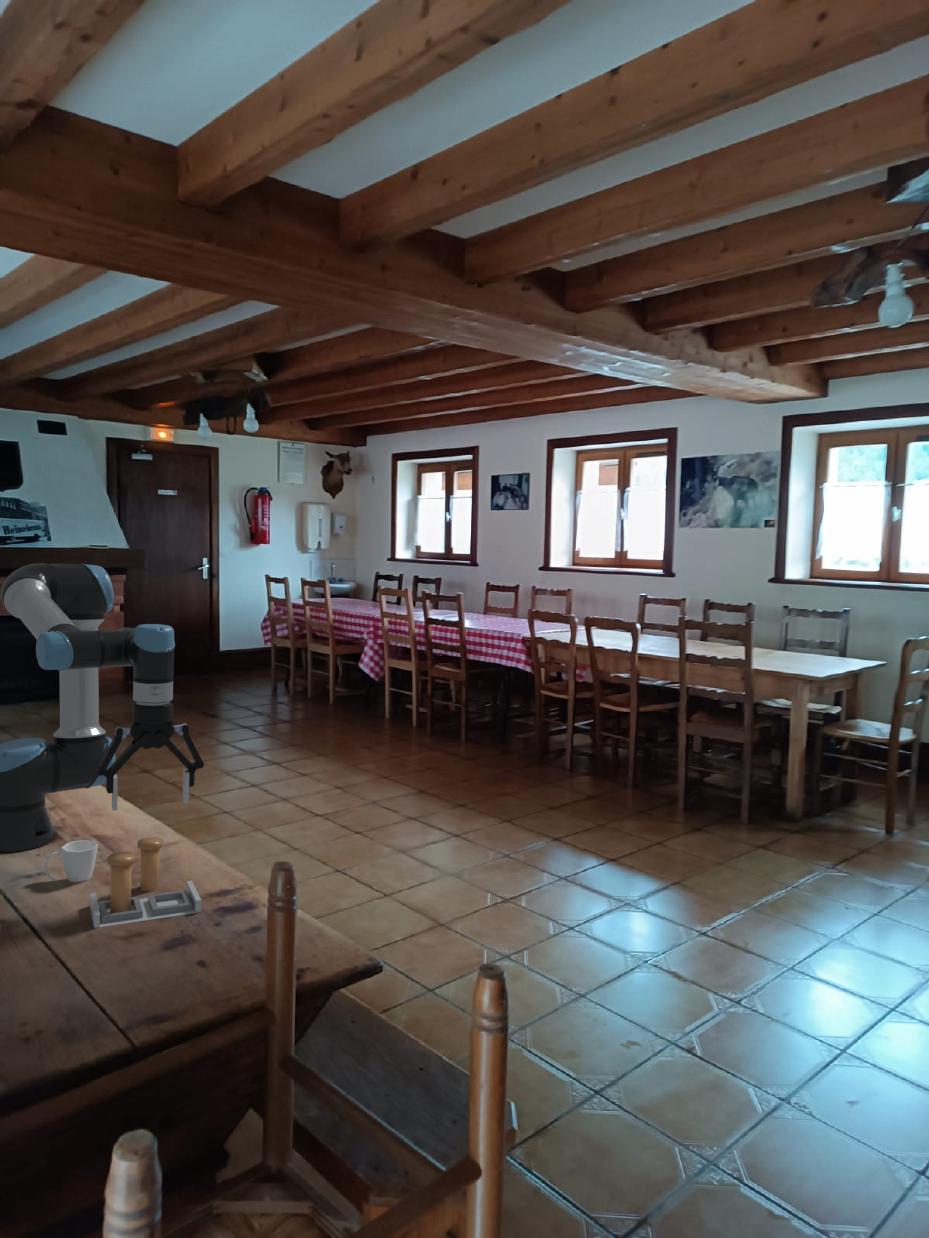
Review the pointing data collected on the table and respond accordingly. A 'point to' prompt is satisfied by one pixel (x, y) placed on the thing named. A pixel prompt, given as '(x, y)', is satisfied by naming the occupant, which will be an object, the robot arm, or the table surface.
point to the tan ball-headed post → (149, 863)
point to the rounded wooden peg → (120, 881)
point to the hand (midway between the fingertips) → (150, 805)
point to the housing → (147, 907)
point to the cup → (77, 860)
